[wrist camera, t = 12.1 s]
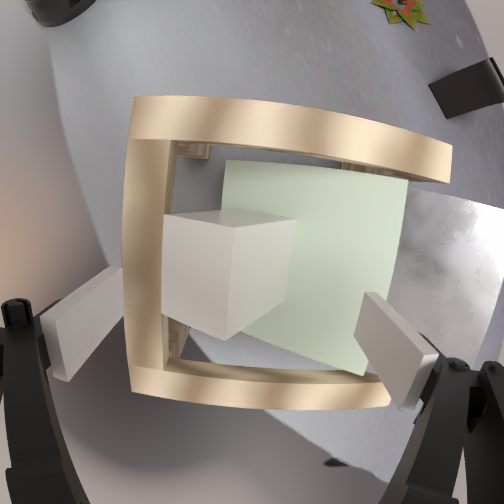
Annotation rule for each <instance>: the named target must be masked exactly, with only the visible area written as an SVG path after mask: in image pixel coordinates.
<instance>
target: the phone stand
mask: <svg viewBox="0 0 504 504" xmlns="http://www.w3.org/2000/svg"><path fill="white" fill-rule="evenodd" d="M429 86H430V88H431V90H432V92H433V93H434V95H435V97H436V99H437V101H438V103H439V104H440V106H441V108H442V110H443V112H444V114H445V116H446V118H447V119H449V118H452V117H455V116H458V115H461V114H464V113H467V112H470V111H474V110H477V109H480V108H483V107H486V106H490V105H493V104H498V103H503V102H504V78H503V76H502V74H501V72H500V70H499V68H498V66H497V64H496V62H495V61H494V59H493V57H491V58H489V59H486V60H484V61H481V62H479V63H476V64H474V65H471V66H469V67H466V68H464V69H461V70H459V71H457V72H454V73H452V74H450V75H448V76H446V77H444V78H441V79H439V80H437V81H435V82H433V83H431V84H429Z"/></svg>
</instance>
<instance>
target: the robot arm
mask: <svg viewBox="0 0 504 504" xmlns="http://www.w3.org/2000/svg"><path fill="white" fill-rule="evenodd" d="M25 1H26V2H27V4H28V6H29V8H30V9H31V10H32V14H33V16H34V18H35V19H36V20H37V21H38V22H40V23H41V24H43V25H45V26H57V25H60V24H63V23H65V22H67V21H69V20H71V19H73V18H74V17H76V16H77V15H79V14H80V13H82V12H83V11H84V10H85V9H87V8H88V7H89V6H90V5H91V4H92V3H93V2H94V1H95V0H25ZM1 310H2V315H3V319H4V324H5V328H1V327H0V403H1V399H2V395H3V394H4V412H5V423H6V432H7V440H8V447H9V454H10V459H11V466H12V467H11V468H7V469H6V471H5V472H6V481H7V486H8V490H9V494H10V498H11V502H12V504H90V502H89V500H88V498H87V496H86V494H85V492H84V489H83V487H82V485H81V483H80V480H79V478H78V476H77V473H76V470H75V468H74V465H73V463H72V460H71V457H70V455H69V452H68V449H67V446H66V443H65V440H64V437H63V434H62V431H61V428H60V424H59V421H58V418H57V414H56V410H55V407H54V403H53V399H52V395H51V390H50V386H49V381H48V377H47V374H46V369H47V368H48V367H49V366H50V365H51V369H52V373H53V376H54V377H55V378H58V379H61V380H64V381H67V382H69V381H70V380H71V378H72V377H73V376H74V375H75V373H76V372H77V371H78V370H79V368H80V367H81V366H82V365H83V363H84V362H85V361H86V359H87V358H88V357H89V356H90V355H91V353H92V352H93V351H94V350H95V349H96V347H97V346H98V345H99V343H100V342H101V341H102V340H103V339H104V338H105V336H106V335H107V334H108V333H109V332H110V330H111V329H112V328H113V327H114V326H115V325H116V323H117V322H118V321H119V320H120V319H121V317H122V316H123V315H124V298H123V268H122V267H115V266H109V267H108V268H106V269H105V270H103V271H102V272H101V273H99V274H98V275H96V276H95V277H94V278H92V279H90V280H89V281H88V282H86V283H85V284H83V285H82V286H80V287H79V288H78V289H76V290H75V291H74V292H72V293H71V294H69V295H68V296H67V297H65V298H63V299H60V300H57V301H55V302H53V303H52V304H51V305H49V307H47V308H45V309H44V310H43V311H41V312H40V313H39V314H37V315H36V316H34V317H33V314H32V309H31V303H30V301H28V300H27V299H22V298H16V299H11V300H8V301H6V302H4V303H3V304H2V306H1ZM354 338H355V339H356V341H357V343H358V344H359V346H360V347H361V349H362V351H363V352H364V354H365V355H366V357H367V359H368V360H369V362H370V364H371V365H372V367H373V368H374V370H375V372H376V373H377V375H378V377H379V378H380V380H381V382H382V383H383V385H384V387H385V388H386V390H387V392H388V393H389V395H390V397H391V398H392V400H393V402H394V403H395V405H396V407H397V408H398V410H399V411H406V410H412V409H414V408H415V406H416V404H417V402H418V400H419V398H420V399H421V400H422V401H423V403H424V404H423V406H422V408H421V410H420V412H419V414H418V415H417V417H416V419H415V421H414V423H413V424H415V426H414V429H413V431H412V434H411V436H410V439H409V441H408V444H407V446H406V448H405V451H404V453H403V455H402V458H401V460H400V462H399V464H398V466H397V469H396V471H395V473H394V475H393V477H392V479H391V481H390V483H389V485H388V487H387V489H386V491H385V493H384V494H383V496H382V498H381V500H380V502H379V503H378V504H459V501H458V499H456V498H452V493H453V490H454V486H455V482H456V478H457V473H458V469H459V464H460V459H461V454H462V449H463V448H464V457H465V468H466V480H467V504H504V367H503V366H502V365H501V364H500V363H498V362H496V361H495V362H493V361H486V362H484V364H483V366H482V368H481V370H480V371H474V370H471V369H470V366H469V365H468V364H467V363H466V362H465V361H463V360H461V359H459V358H454V357H448V358H446V357H445V356H444V355H443V354H442V353H441V352H440V351H439V350H438V349H437V347H435V345H434V344H433V343H432V342H430V341H429V340H428V339H427V338H426V337H425V336H424V335H422V334H421V333H419V332H417V331H416V330H415V329H414V328H413V327H412V326H411V325H410V324H409V323H408V322H407V321H406V320H405V319H404V318H403V317H402V316H401V315H400V314H399V313H398V312H397V311H396V310H395V309H394V308H393V307H391V306H390V305H389V304H388V303H387V302H386V301H385V300H384V299H383V298H382V297H381V296H380V295H379V294H378V293H377V292H364V296H363V300H362V304H361V309H360V313H359V317H358V321H357V324H356V328H355V332H354Z"/></svg>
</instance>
